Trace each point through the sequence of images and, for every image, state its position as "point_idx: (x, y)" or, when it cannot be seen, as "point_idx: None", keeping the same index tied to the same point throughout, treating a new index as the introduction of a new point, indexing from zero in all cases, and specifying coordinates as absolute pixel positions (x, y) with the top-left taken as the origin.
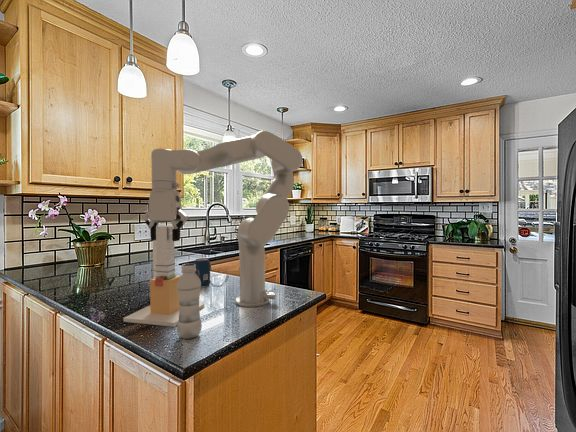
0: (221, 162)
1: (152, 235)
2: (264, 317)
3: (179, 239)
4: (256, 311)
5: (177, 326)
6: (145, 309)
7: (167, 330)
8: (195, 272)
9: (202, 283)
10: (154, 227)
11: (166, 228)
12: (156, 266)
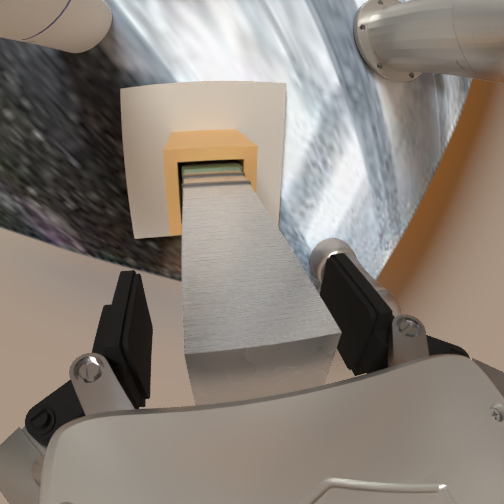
0: None
1: (149, 357)
2: (430, 141)
3: (343, 256)
4: (414, 107)
5: (317, 279)
6: (138, 173)
7: None
8: None
9: None
10: (133, 392)
11: None
12: (28, 39)
